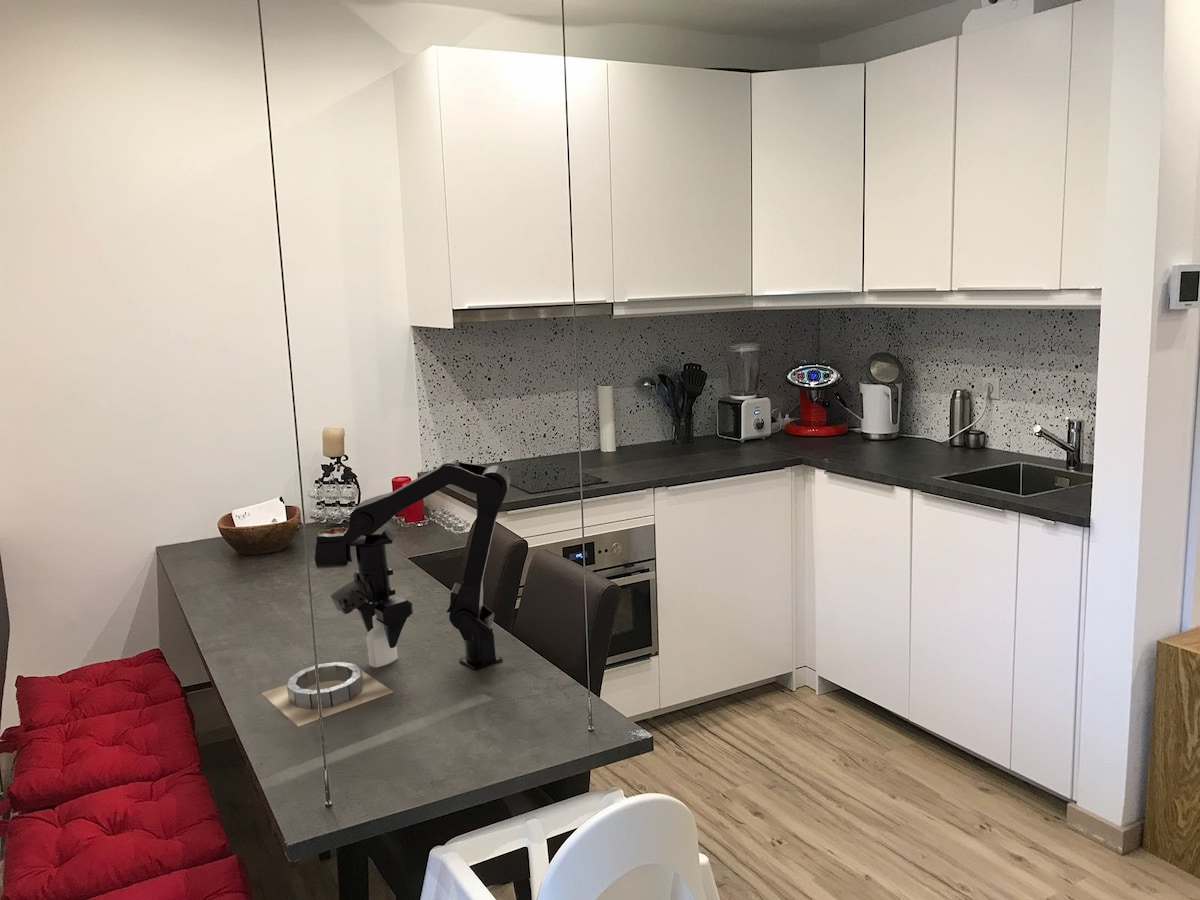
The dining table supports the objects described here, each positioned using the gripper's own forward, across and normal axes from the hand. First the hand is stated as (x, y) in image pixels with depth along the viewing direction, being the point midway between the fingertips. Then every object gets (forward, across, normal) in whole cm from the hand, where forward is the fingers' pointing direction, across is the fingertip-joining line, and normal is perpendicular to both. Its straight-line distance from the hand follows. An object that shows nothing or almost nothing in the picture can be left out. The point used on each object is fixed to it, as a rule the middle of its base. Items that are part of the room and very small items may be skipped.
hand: (381, 641), depth 185 cm
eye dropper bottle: (+6, 0, 0) cm, 6 cm away
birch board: (+5, +5, -14) cm, 16 cm away
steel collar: (+4, +5, -14) cm, 16 cm away
